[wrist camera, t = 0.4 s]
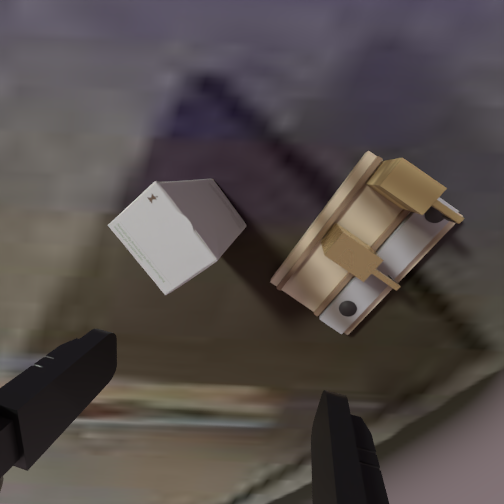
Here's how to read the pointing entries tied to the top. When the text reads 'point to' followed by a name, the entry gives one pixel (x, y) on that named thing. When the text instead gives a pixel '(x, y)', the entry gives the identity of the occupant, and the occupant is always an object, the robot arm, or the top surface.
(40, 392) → the robot arm
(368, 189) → the gauge board
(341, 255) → the slider leg
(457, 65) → the top surface
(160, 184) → the skincare box
